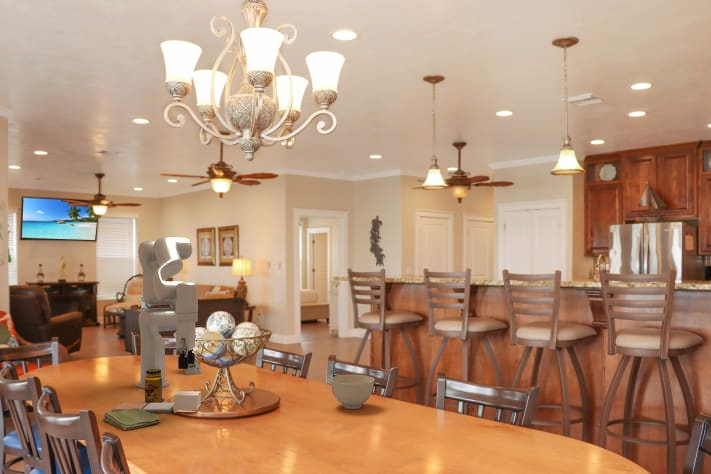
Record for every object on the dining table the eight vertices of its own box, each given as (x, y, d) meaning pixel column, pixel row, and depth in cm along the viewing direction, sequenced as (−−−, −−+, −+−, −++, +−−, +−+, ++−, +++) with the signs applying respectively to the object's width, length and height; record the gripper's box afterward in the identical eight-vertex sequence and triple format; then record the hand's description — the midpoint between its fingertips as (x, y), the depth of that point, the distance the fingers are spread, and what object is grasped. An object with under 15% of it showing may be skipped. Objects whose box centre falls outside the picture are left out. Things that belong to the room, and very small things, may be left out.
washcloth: (124, 433, 199) (124, 422, 199) (100, 421, 212) (100, 411, 212) (163, 425, 208) (163, 415, 208) (138, 414, 221) (138, 405, 221)
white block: (178, 408, 228) (178, 391, 228) (200, 408, 228) (200, 391, 228) (173, 412, 222) (174, 395, 222) (197, 412, 222) (197, 395, 222)
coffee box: (200, 373, 287) (201, 338, 288) (186, 375, 285) (186, 338, 285) (196, 370, 296) (197, 335, 296) (182, 371, 293) (183, 336, 293)
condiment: (143, 405, 231) (143, 372, 231) (143, 400, 239) (144, 367, 239) (164, 404, 233) (164, 371, 233) (164, 398, 241) (164, 366, 241)
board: (121, 406, 230) (121, 402, 230) (177, 406, 231) (177, 402, 231) (111, 413, 220) (111, 409, 220) (170, 413, 221) (170, 409, 221)
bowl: (369, 413, 222) (370, 385, 222) (325, 411, 226) (325, 382, 226) (377, 402, 238) (377, 375, 238) (335, 400, 241) (336, 373, 241)
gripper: (182, 315, 234) (182, 362, 234) (169, 320, 217) (169, 370, 216) (202, 315, 234) (202, 362, 234) (191, 320, 217) (191, 370, 216)
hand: (186, 366), depth 225 cm, fingers open, 9 cm apart
